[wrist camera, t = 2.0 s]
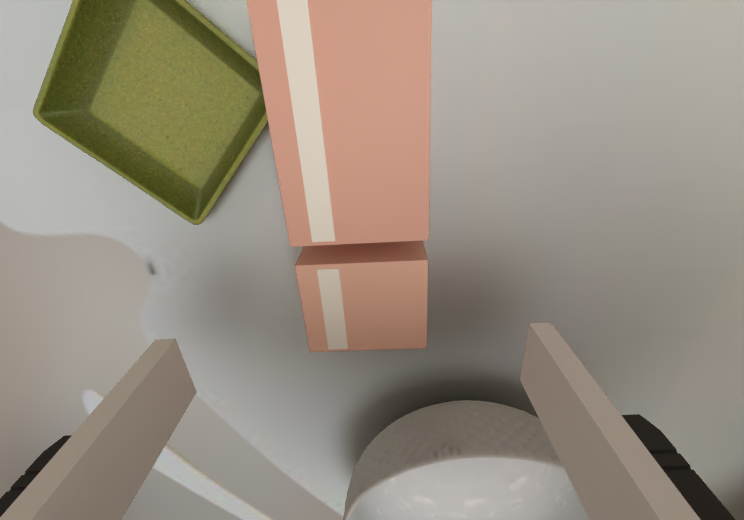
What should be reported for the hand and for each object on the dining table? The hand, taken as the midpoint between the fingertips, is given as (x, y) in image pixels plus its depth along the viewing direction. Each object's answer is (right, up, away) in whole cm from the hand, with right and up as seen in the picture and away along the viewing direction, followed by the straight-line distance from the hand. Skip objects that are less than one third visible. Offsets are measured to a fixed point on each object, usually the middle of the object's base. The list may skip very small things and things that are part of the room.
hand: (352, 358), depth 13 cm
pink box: (0, +4, +8) cm, 9 cm away
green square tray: (-9, +12, +5) cm, 16 cm away
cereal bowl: (+7, -11, +15) cm, 20 cm away
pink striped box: (0, +11, +4) cm, 11 cm away
